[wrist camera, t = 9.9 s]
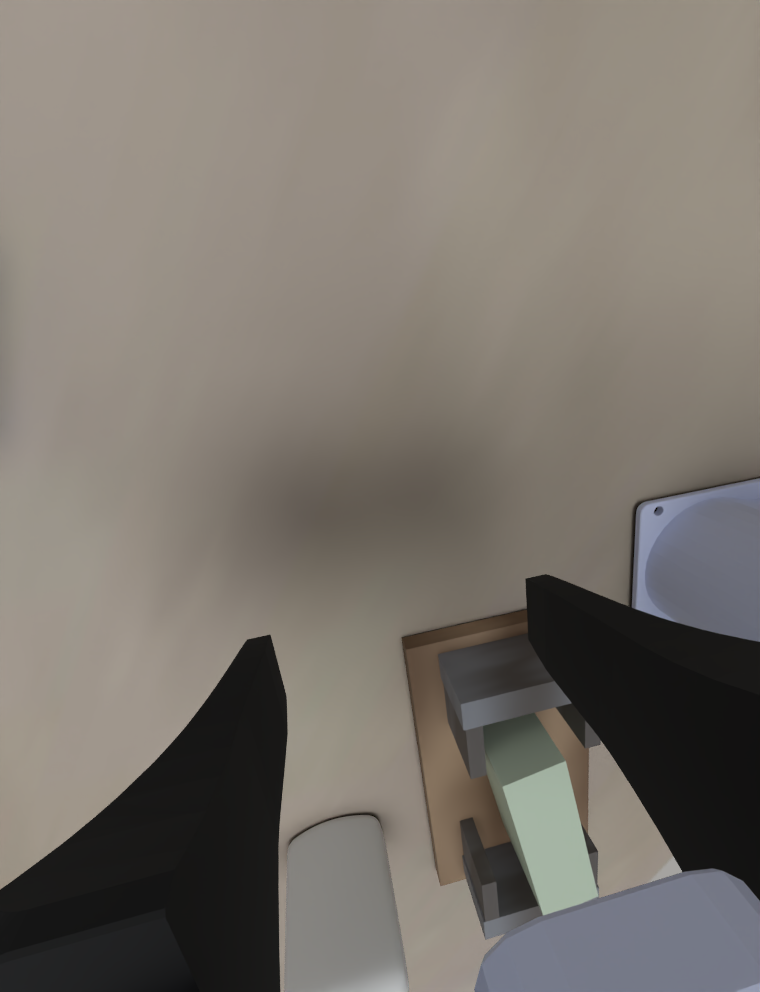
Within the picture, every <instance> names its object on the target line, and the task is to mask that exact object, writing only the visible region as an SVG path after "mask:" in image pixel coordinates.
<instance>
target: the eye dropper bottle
mask: <svg viewBox="0 0 760 992" xmlns="http://www.w3.org/2000/svg"><path fill="white" fill-rule="evenodd" d="M284 992H409V982H408V974H407V967H406V961H405V955H404V948H403V942H402V937H401V931H400V925H399V919H398V913H397V907H396V901H395V895H394V890H393V884H392V878H391V872H390V867H389V861H388V855H387V849H386V844H385V839H384V835H383V831H382V828H381V825H380V823H379V821H378V820H377V819H376V818H375V817H373V816H370V815H354V816H346V817H341V818H336V819H333V820H329V821H326V822H324V823H321V824H319V825H317V826H314V827H312V828H311V829H309V830H307V831H305V832H304V833H302V834H300V835H299V836H297V837H296V838H295V839H294V840H293V841H292V842H291V843H290V845H289V847H288V853H287V886H286V927H285V973H284Z"/></svg>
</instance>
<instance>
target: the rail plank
mask: <svg viewBox="0 0 760 992" xmlns="http://www.w3.org/2000/svg"><path fill="white" fill-rule="evenodd" d="M483 735H484V746H485V758H486V769H487V776H488V779H489V782H490V785H491V788H492V791H493V794H494V797H495V800H496V803H497V806H498V809H499V812H500V815H501V818H502V821H503V824H504V826H505V829H506V831H507V833H508V836H509V838H510V840H511V843H512V845H513V847H514V850H515V852H516V854H517V857H518V859H519V861H520V864H521V866H522V868H523V871H524V873H525V875H526V878H527V880H528V882H529V884H530V887H531V889H532V891H533V894H534V896H535V898H536V901H537V903H538V905H539V908H540V910H541V912H542V915H547V914H550V913H553V912H556V911H559V910H563V909H566V908H569V907H572V906H576V905H579V904H582V903H584V902H586V901H589V900H591V899H593V898H596V897H598V893H597V889H596V884H595V880H594V876H593V872H592V868H591V864H590V859H589V855H588V851H587V847H586V843H585V839H584V834H583V830H582V826H581V822H580V818H579V814H578V810H577V805H576V801H575V797H574V793H573V789H572V785H571V780H570V776H569V772H568V768H567V764H566V760H565V759H564V757H563V756H562V754H561V753H560V751H559V750H558V748H557V747H556V745H555V743H554V742H553V740H552V739H551V737H550V736H549V734H548V733H547V731H546V730H545V728H544V727H543V725H542V723H541V722H540V720H539V719H538V717H537V716H536V714H535V713H531V714H527V715H523V716H520V717H516V718H512V719H508V720H504V721H500V722H496V723H492V724H488V725H484V726H483Z"/></svg>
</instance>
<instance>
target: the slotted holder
mask: <svg viewBox="0 0 760 992" xmlns="http://www.w3.org/2000/svg"><path fill="white" fill-rule="evenodd" d="M402 644H403V650H404V657H405V664H406V671H407V677H408V684H409V691H410V697H411V704H412V711H413V717H414V724H415V731H416V737H417V744H418V751H419V757H420V764H421V771H422V778H423V784H424V791H425V798H426V804H427V811H428V818H429V824H430V831H431V838H432V844H433V851H434V858H435V864H436V870H437V874H438V878H439V882H440V885H441V886H443V885H446V884H450V883H453V882H457V881H460V880H463V879H467V882H468V886H469V889H470V892H471V895H472V898H473V902H474V905H475V908H476V911H477V914H478V917H479V921H480V924H481V927H482V930H483V933H484V936H485V940H486V939H489V938H492V937H496V936H499V935H502V934H505V933H507V932H509V931H511V930H513V929H515V928H517V927H519V926H521V925H523V924H525V923H527V922H529V921H531V920H533V919H535V918H537V917H540V916H543V915H542V912H541V910H540V908H539V905H538V903H537V901H536V898H535V896H534V894H533V891H532V889H531V887H530V884H529V882H528V880H527V878H526V875H525V873H524V871H523V868H522V866H521V864H520V861H519V859H518V857H517V854H516V852H515V850H514V847H513V845H512V843H511V840H510V838H509V836H508V833H507V831H506V829H505V826H504V824H503V821H502V818H501V815H500V812H499V809H498V806H497V803H496V800H495V797H494V794H493V791H492V788H491V785H490V782H489V779H488V776H487V769H486V758H485V746H484V735H483V726H484V725H488V724H492V723H496V722H500V721H504V720H508V719H512V718H516V717H520V716H523V715H527V714H531V713H535V714H536V716H537V717H538V719H539V720H540V722H541V723H542V725H543V727H544V728H545V730H546V731H547V733H548V734H549V736H550V737H551V739H552V740H553V742H554V743H555V745H556V747H557V748H558V750H559V751H560V753H561V754H562V756H563V757H564V759H565V760H566V764H567V768H568V772H569V776H570V780H571V785H572V789H573V793H574V797H575V801H576V805H577V810H578V814H579V818H580V822H581V826H582V830H583V834H584V839H585V843H586V847H587V851H588V855H589V859H590V864H591V868H592V872H593V876H594V880H595V884H596V889H597V893H598V897H596V898H593V899H591V900H589V901H592V900H595V899H598V898H599V887H598V885H597V872H598V851H597V849H596V847H595V846H594V844H593V842H592V840H591V839H590V837H589V835H588V769H589V748H590V747H593V746H597V745H600V738H599V737H598V736H597V734H596V733H595V732H594V731H593V729H592V728H591V727H590V726H589V724H588V723H587V722H586V720H585V719H584V718H583V717H582V715H581V714H580V713H579V712H578V710H577V709H576V708H575V706H574V705H573V704H572V703H571V701H570V700H569V699H568V698H567V696H566V695H565V694H564V693H563V691H562V690H561V689H560V687H559V686H558V685H557V683H556V682H555V681H554V680H553V678H552V677H551V676H550V674H549V673H548V672H547V670H546V669H545V667H544V666H543V664H542V662H541V661H540V659H539V657H538V656H537V654H536V652H535V650H534V649H533V647H532V645H531V643H530V642H529V640H528V622H527V610H522V611H518V612H513V613H509V614H505V615H500V616H496V617H491V618H487V619H483V620H478V621H474V622H469V623H465V624H461V625H456V626H452V627H447V628H443V629H439V630H434V631H430V632H425V633H421V634H417V635H412V636H408V637H404V638H402ZM586 902H588V901H586ZM584 903H585V902H584Z"/></svg>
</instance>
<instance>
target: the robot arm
mask: <svg viewBox="0 0 760 992" xmlns="http://www.w3.org/2000/svg"><path fill="white" fill-rule="evenodd" d="M656 507H658V508H657V511H656V512H655V513H654V510H655V509H656ZM526 598H527V622H528V640H529V642H530V643H531V645H532V647H533V649H534V650H535V652H536V654H537V656H538V657H539V659H540V661H541V662H542V664H543V666H544V667H545V669H546V670H547V672H548V673H549V674H550V676H551V677H552V678H553V680H554V681H555V682H556V683H557V685H558V686H559V687H560V689H561V690H562V691H563V693H564V694H565V695H566V696H567V698H568V699H569V700H570V701H571V703H572V704H573V705H574V706H575V708H576V709H577V710H578V712H579V713H580V714H581V715H582V717H583V718H584V719H585V720H586V722H587V723H588V724H589V726H590V727H591V728H592V729H593V731H594V732H595V733H596V734H597V736H598V737H599V738H600V740H601V741H602V742H603V744H604V745H605V747H606V748H607V749H608V751H609V752H610V754H611V755H612V757H613V758H614V760H615V761H616V763H617V764H618V766H619V767H620V769H621V771H622V772H623V774H624V775H625V777H626V778H627V780H628V781H629V783H630V785H631V786H632V788H633V789H634V791H635V793H636V794H637V796H638V797H639V799H640V801H641V802H642V804H643V806H644V807H645V809H646V811H647V812H648V814H649V815H650V817H651V819H652V820H653V822H654V824H655V825H656V827H657V829H658V830H659V832H660V834H661V835H662V837H663V839H664V841H665V842H666V844H667V846H668V847H669V849H670V851H671V853H672V854H673V856H674V858H675V860H676V861H677V863H678V865H679V866H680V868H681V870H682V873H679V874H676V875H673V876H669V877H666V878H663V879H659V880H656V881H653V882H650V883H647V884H643V885H640V886H637V887H634V888H630V889H627V890H624V891H621V892H617V893H614V894H611V895H608V896H605V897H601V898H598V899H595V900H592V901H588V902H585V903H582V904H579V905H576V906H572V907H569V908H566V909H563V910H559V911H556V912H553V913H550V914H547V915H543V916H540V917H537V918H535V919H533V920H531V921H529V922H527V923H525V924H523V925H521V926H519V927H517V928H515V929H513V930H511V931H509V932H507V933H506V934H505V935H504V936H503V937H502V938H501V939H500V940H499V941H498V942H497V943H496V944H495V945H494V946H493V947H492V948H491V949H490V950H489V951H488V952H487V953H486V954H485V956H484V959H483V961H482V964H481V967H480V971H479V974H478V978H477V982H476V985H475V989H474V990H475V992H760V478H758V479H753V480H749V481H744V482H739V483H734V484H729V485H724V486H719V487H714V488H710V489H705V490H700V491H695V492H690V493H685V494H680V495H676V496H671V497H666V498H661V499H656V500H651V501H646V502H643V503H642V504H640V505H639V507H638V508H637V511H636V527H635V549H634V570H633V592H632V608H631V607H629V606H626V605H623V604H621V603H618V602H615V601H613V600H610V599H608V598H605V597H603V596H600V595H598V594H595V593H593V592H590V591H588V590H586V589H583V588H581V587H578V586H576V585H573V584H571V583H569V582H566V581H564V580H561V579H558V578H556V577H553V576H550V575H547V574H545V575H540V576H536V577H531V578H527V579H526ZM286 745H287V699H286V693H285V689H284V685H283V681H282V678H281V674H280V670H279V666H278V662H277V658H276V655H275V651H274V647H273V643H272V639H271V635H267V636H262V637H257V638H253V639H248V640H247V641H246V642H245V644H244V645H243V646H242V648H241V649H240V651H239V652H238V654H237V656H236V657H235V659H234V660H233V662H232V663H231V665H230V666H229V668H228V669H227V671H226V672H225V674H224V676H223V677H222V678H221V680H220V681H219V683H218V684H217V686H216V687H215V689H214V690H213V691H212V693H211V694H210V696H209V697H208V699H207V700H206V701H205V703H204V704H203V705H202V707H201V708H200V709H199V710H198V712H197V713H196V714H195V716H194V717H193V718H192V720H191V721H190V722H189V723H188V725H187V726H186V727H185V728H184V730H183V731H182V732H181V733H180V734H179V735H178V737H177V738H176V739H175V740H174V741H173V742H172V743H171V744H170V745H169V747H168V748H167V749H166V750H165V751H164V752H163V753H162V754H161V755H160V756H159V757H158V759H157V760H156V761H155V762H154V763H153V764H152V765H151V766H150V767H149V768H148V769H147V770H146V771H144V772H143V773H142V774H141V775H140V776H139V777H138V778H137V779H136V780H135V781H134V782H133V783H132V784H131V785H130V786H129V787H128V788H127V789H126V790H125V791H124V792H123V793H122V794H121V795H120V796H118V797H117V798H116V799H115V800H114V801H113V802H112V803H111V804H110V805H108V806H107V807H106V808H105V809H104V810H103V811H101V812H100V813H99V814H98V815H97V816H96V817H95V818H93V819H92V820H91V821H90V822H89V823H87V824H86V825H85V826H84V827H82V828H81V829H80V830H79V831H78V832H76V833H75V834H74V835H73V836H72V837H70V838H69V839H68V840H66V841H65V842H64V843H63V844H61V845H60V846H59V847H58V848H56V849H55V850H54V851H52V852H51V853H50V854H48V855H47V856H46V857H44V858H43V859H42V860H40V861H39V862H37V863H36V864H35V865H33V866H32V867H31V868H29V869H28V870H27V871H25V872H24V873H23V874H21V875H20V876H19V877H17V878H16V879H15V880H13V881H12V882H11V883H9V884H8V885H6V886H5V887H3V888H2V889H1V890H0V992H280V962H279V896H278V842H279V823H280V812H281V801H282V790H283V779H284V768H285V757H286Z"/></svg>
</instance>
